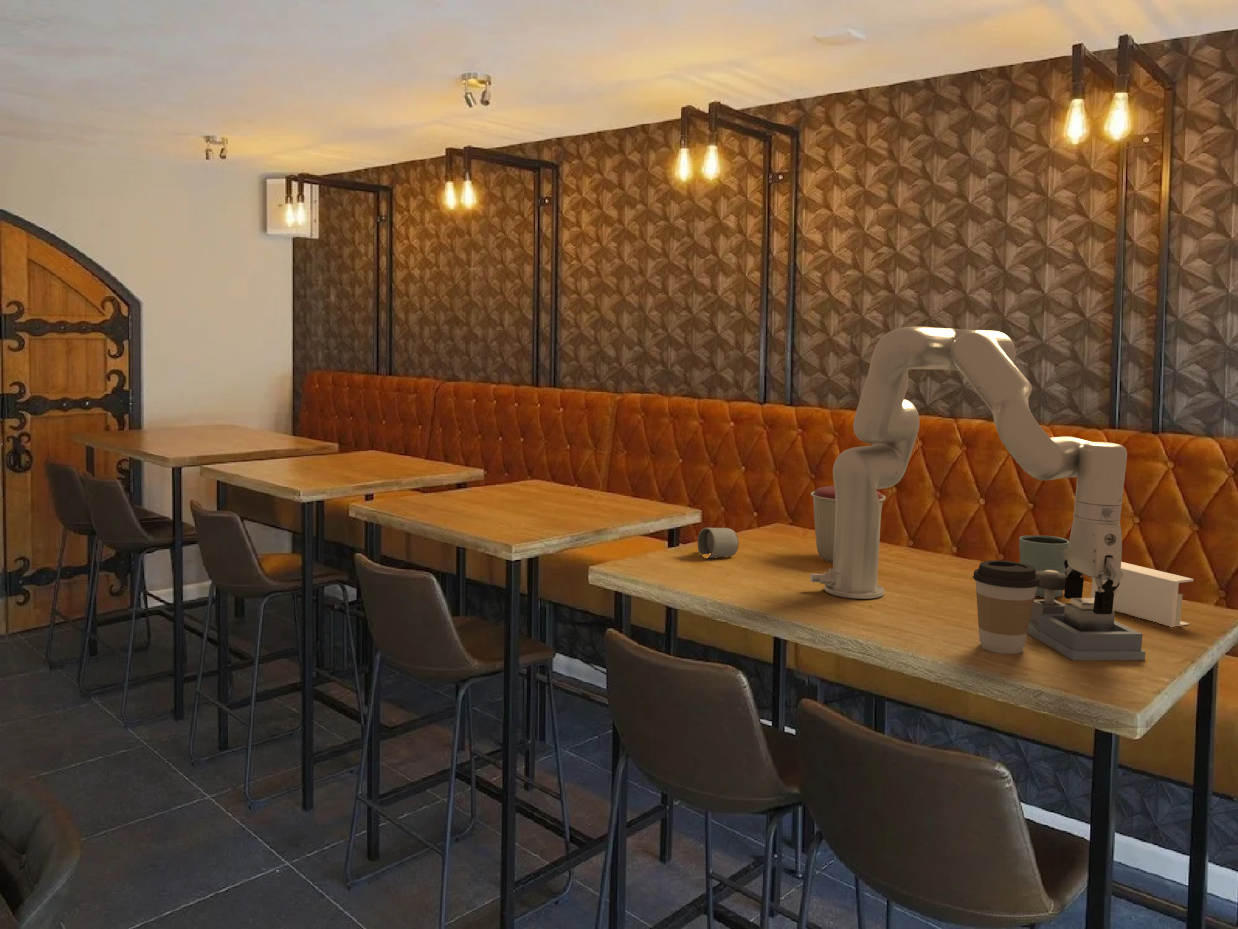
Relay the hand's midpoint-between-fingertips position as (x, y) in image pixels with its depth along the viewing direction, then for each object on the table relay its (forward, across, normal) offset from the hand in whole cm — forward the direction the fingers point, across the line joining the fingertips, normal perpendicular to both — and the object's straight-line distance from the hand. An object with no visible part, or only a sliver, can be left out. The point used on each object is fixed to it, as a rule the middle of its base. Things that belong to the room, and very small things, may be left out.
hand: (1087, 606), depth 181 cm
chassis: (+8, +3, 0) cm, 8 cm away
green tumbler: (+8, +39, -12) cm, 42 cm away
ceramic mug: (+10, +76, +54) cm, 93 cm away
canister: (+10, +71, +22) cm, 75 cm away
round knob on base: (+3, +10, +2) cm, 11 cm away
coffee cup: (+8, 0, +15) cm, 17 cm away
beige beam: (+8, +22, -24) cm, 33 cm away
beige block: (+6, 0, 0) cm, 6 cm away
